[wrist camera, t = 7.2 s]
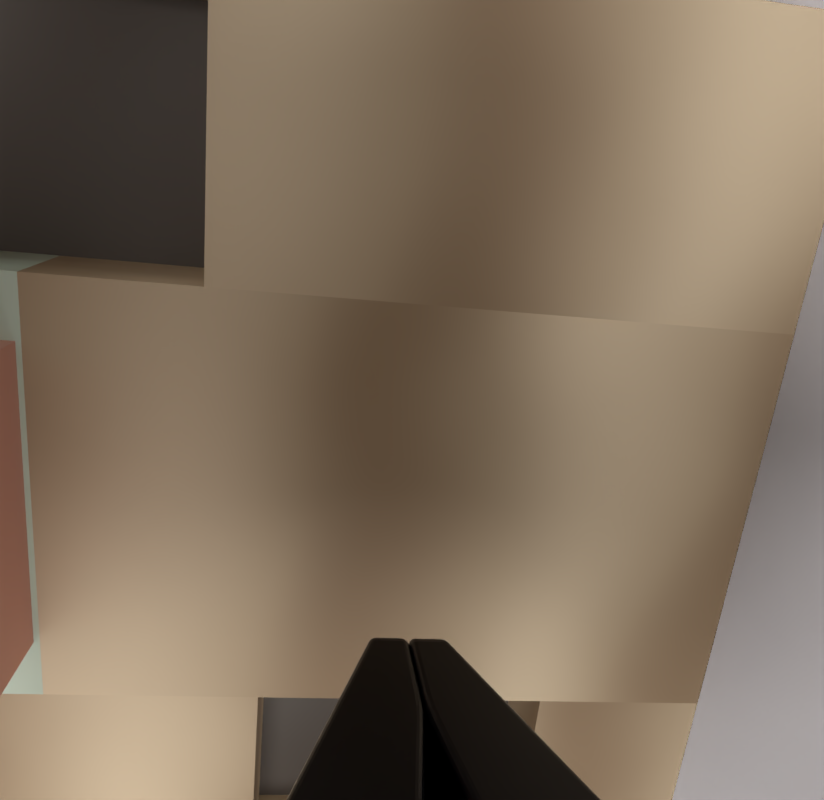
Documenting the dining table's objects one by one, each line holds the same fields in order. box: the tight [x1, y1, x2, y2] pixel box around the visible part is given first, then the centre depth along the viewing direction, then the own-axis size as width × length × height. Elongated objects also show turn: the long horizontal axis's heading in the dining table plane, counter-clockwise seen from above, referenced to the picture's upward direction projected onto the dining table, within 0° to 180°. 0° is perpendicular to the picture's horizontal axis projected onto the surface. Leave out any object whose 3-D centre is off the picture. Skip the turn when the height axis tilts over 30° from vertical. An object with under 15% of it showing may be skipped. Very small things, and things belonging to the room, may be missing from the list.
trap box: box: [0, 0, 824, 800], centre depth 11 cm, size 18×16×5 cm
